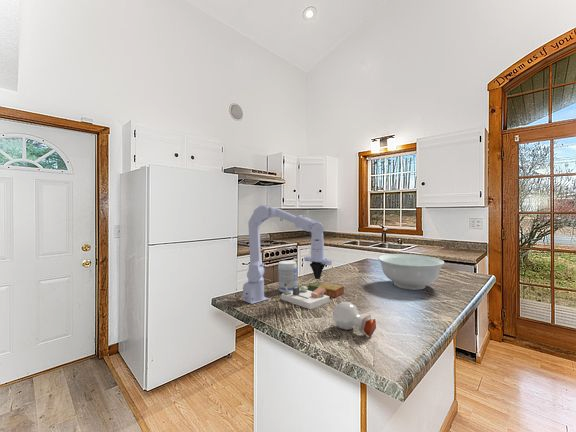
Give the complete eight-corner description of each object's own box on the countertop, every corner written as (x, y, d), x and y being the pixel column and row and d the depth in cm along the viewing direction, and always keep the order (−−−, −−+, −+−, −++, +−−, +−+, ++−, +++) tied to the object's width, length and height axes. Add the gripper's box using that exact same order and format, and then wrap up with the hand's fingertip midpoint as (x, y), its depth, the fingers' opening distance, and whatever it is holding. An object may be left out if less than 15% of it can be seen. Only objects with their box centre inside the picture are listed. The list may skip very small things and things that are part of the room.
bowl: (457, 295, 137) (458, 264, 136) (389, 295, 137) (389, 265, 137) (426, 278, 169) (426, 253, 168) (371, 278, 169) (371, 253, 169)
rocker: (317, 297, 126) (316, 294, 126) (311, 295, 129) (310, 292, 129) (325, 291, 130) (325, 288, 130) (319, 289, 133) (319, 286, 133)
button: (303, 292, 135) (303, 287, 134) (299, 290, 137) (299, 286, 137) (307, 290, 136) (307, 286, 136) (303, 289, 138) (303, 285, 138)
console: (310, 309, 120) (309, 298, 120) (281, 299, 133) (281, 290, 133) (329, 301, 129) (329, 292, 129) (301, 293, 142) (300, 284, 142)
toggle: (287, 291, 132) (285, 283, 133) (285, 291, 133) (283, 283, 134) (289, 290, 133) (287, 282, 134) (287, 290, 134) (285, 283, 135)
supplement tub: (298, 292, 143) (298, 263, 142) (279, 293, 141) (279, 264, 141) (295, 287, 152) (295, 260, 152) (277, 288, 151) (277, 260, 150)
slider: (295, 295, 130) (295, 288, 130) (292, 294, 131) (292, 287, 131) (299, 294, 132) (299, 287, 132) (296, 293, 133) (296, 286, 133)
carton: (335, 298, 134) (335, 289, 134) (307, 292, 144) (307, 284, 144) (344, 294, 141) (343, 285, 141) (316, 288, 151) (316, 280, 150)
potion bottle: (335, 326, 106) (371, 345, 95) (323, 317, 100) (359, 336, 89) (346, 303, 109) (382, 319, 98) (334, 293, 103) (371, 309, 92)
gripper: (335, 249, 126) (336, 280, 126) (311, 246, 136) (311, 274, 137) (325, 251, 121) (325, 283, 122) (301, 248, 132) (301, 277, 132)
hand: (317, 278), depth 129 cm, fingers closed
